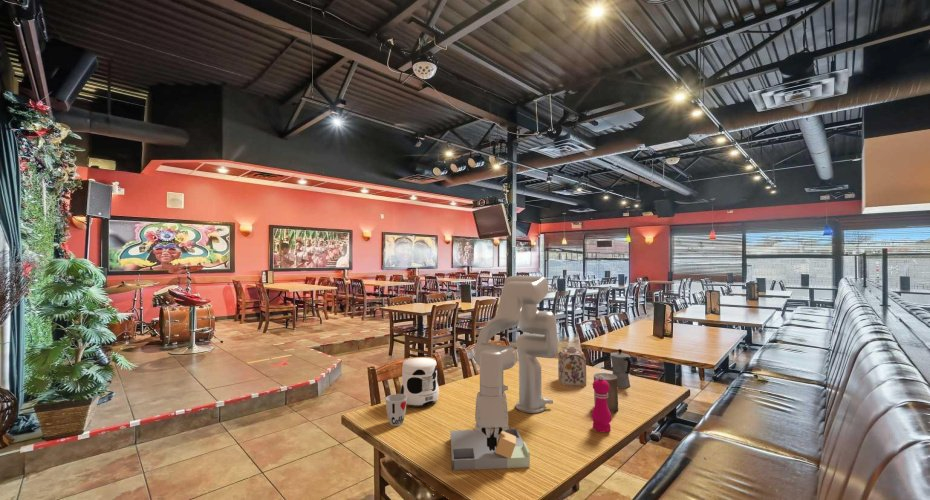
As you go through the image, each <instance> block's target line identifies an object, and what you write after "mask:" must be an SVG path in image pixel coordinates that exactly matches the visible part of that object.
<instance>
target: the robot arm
mask: <svg viewBox="0 0 930 500" xmlns="http://www.w3.org/2000/svg"><path fill="white" fill-rule="evenodd" d="M548 291H549V282H548V280H547V278H546V277H545V276H540V275H539V276H538V275H536V276H535V275H534V276H533V275H511V276H508V277H506V278H505V280H504V284H503V286H502V289H501V294H500V298H499V303H498V307H497V310H496V315H495V316H494V317H492V319H490V320H489V321H488V322H487V323H485V325H484V326H483V327H482V328H481V330H480V331H479V334H478V336H477V340H476V343H475V347H474V352H473V353H474V354H473V355H474V357H473V358H474V361H475V363H476V364H477V365H478V366H479V391H478V392H477V394H476V398H475V399H476V400H475V411H474V412H475V414H474V416H475V419H474V420H475V425H474V430H477V431H482V432H483V433H484V434H485V435H486V436H487V447H489V449H490V451H491V450H493V451H495V446H497V437H498V435H499V434H500V433H501V432H502V431H504V430H508V429H510V428H509V427H510V426H509V411H508V401H507V395H506V391H509V386H508V385H505V384H504V371H506V370H509V369H512V368H514V367H515V365H516V363H517V362H518V387H519V388H518V393H519V394H518V396H519V397H518V399H519V400H518V401H517V402H515V409H517V410H518V411H521V412H523V413H526V414H538V413H542V412H544V411H545V410H546V404H549V405H552V404H554V401H553V398H549V397H544V396H542V391H543V390H542V365H541V363H540V361H539V359H538V358H543V359H555V358H556V357H557V356H558V354H559V341H558V329H557V328H558V327H557V326H558V325H557V319H556V316H555V314H554V313H553V312H552V311H549V310H548V311H547V310H539V309H538V306H537V305H539V304H540V303H541V302H542V301H543V300H544V299H545V298H546V296H547V295H548ZM516 326H518V329H519V330H520V331H521V332H522V333H521V334H520V335H518V337H517V338H516V349H515V348H514V347H513V346H510V345H502V344H494V343H489V342H490V340H491V339H492V338H493V337H494V336H495V335H496V334H499V333H501V332H503V331H506V330H509V329H511V328H514V327H516ZM489 429H493V433H492V434H491V433H490V430H489Z"/></svg>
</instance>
